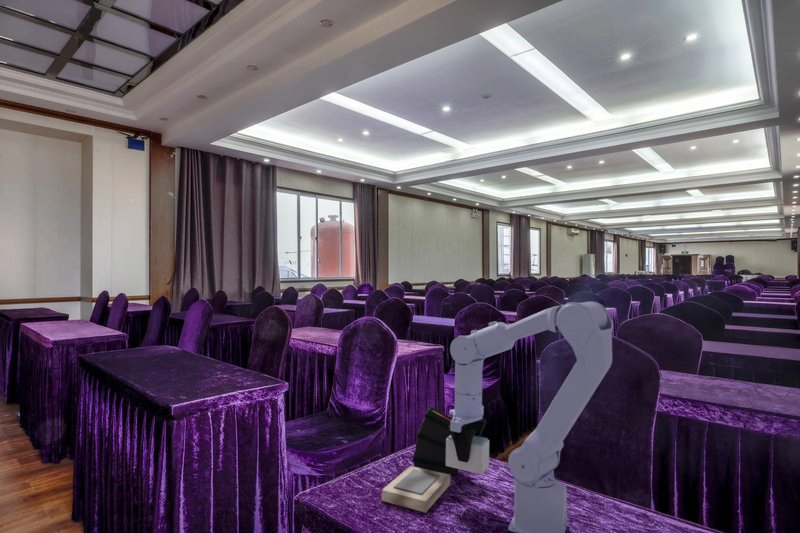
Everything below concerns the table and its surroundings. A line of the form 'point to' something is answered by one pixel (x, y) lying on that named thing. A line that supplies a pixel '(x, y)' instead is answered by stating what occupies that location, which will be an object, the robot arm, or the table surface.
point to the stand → (416, 488)
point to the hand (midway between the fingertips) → (467, 457)
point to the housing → (477, 455)
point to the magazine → (433, 443)
